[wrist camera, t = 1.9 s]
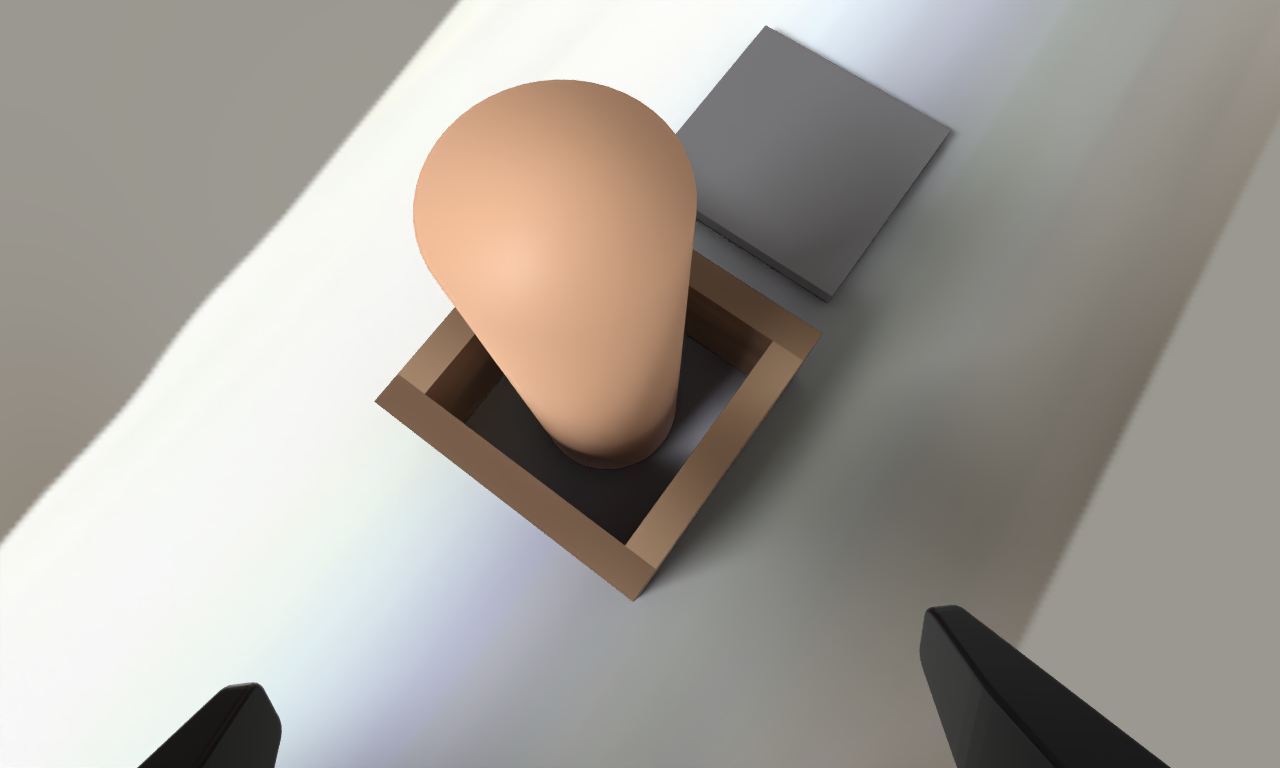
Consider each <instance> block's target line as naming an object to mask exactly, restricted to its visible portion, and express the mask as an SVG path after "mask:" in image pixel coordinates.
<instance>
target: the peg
mask: <svg viewBox="0 0 1280 768" xmlns="http://www.w3.org/2000/svg"><path fill="white" fill-rule="evenodd" d="M696 210H697V192H696V184H695V177H694V174H693V170H692V166H691V163H690V161H689V158H688V156H687V154H686V152H685V149H684V147H683V146H682V144H681V142H680V141H679V139H678V138H677V136H676V134H675V133H674V132H673V131H672V130H671V128H670V127H669V126H668V125H667V124H666V122H665V121H664V120H663V119H661V118H660V117H659V116H658V115H657V114H656V113H655V112H654V111H653V110H651V109H650V108H649V107H647V106H646V105H644V104H643V103H641V102H640V101H638V100H637V99H635V98H633V97H631V96H629V95H627V94H625V93H623V92H620V91H618V90H615V89H613V88H610V87H607V86H603V85H599V84H595V83H591V82H584V81H577V80H548V81H538V82H533V83H528V84H523V85H519V86H516V87H513V88H510V89H507V90H504V91H502V92H500V93H497V94H495V95H493V96H491V97H488V98H487V99H485V100H483V101H482V102H480V103H478V104H476V105H475V106H473V107H472V108H471V109H469V110H468V111H467V112H465V113H464V114H463V115H461V116H460V117H459V118H458V119H457V120H456V121H455V122H454V123H453V124H452V125H451V126H449V127H448V128H447V130H446V131H445V132H444V133H443V134H442V136H441V137H440V138H439V139H438V141H437V142H436V143H435V145H434V147H433V148H432V150H431V152H430V153H429V155H428V156H427V159H426V161H425V163H424V165H423V167H422V170H421V172H420V175H419V179H418V182H417V185H416V190H415V197H414V203H413V221H414V228H415V235H416V239H417V243H418V246H419V249H420V253H421V255H422V257H423V259H424V261H425V263H426V265H427V268H428V269H429V271H430V272H431V274H432V275H433V277H434V278H435V280H436V281H437V283H438V284H439V285H440V287H441V288H442V290H443V291H444V292H445V294H446V295H447V296H448V298H449V299H450V300H451V302H452V303H453V305H454V306H455V307H456V309H457V310H458V311H459V313H460V314H461V315H462V317H463V318H464V320H465V321H466V322H467V324H468V325H469V326H470V328H471V329H472V331H473V332H474V333H475V335H476V336H477V337H478V339H479V340H480V341H481V343H482V344H483V346H484V347H485V348H486V350H487V351H488V352H489V354H490V355H491V357H492V358H493V359H494V361H495V362H496V363H497V365H498V366H499V367H500V369H501V370H502V372H503V373H504V374H505V376H506V377H507V378H508V380H509V381H510V382H511V384H512V385H513V387H514V388H515V389H516V391H517V392H518V393H519V395H520V396H521V398H522V399H523V400H524V402H525V403H526V404H527V406H528V407H529V408H530V410H531V411H532V413H533V414H534V415H535V417H536V418H537V419H538V421H539V422H540V423H541V425H542V426H543V428H544V429H545V430H546V432H547V433H548V434H549V436H550V437H551V439H552V440H553V441H554V443H555V444H556V445H557V446H558V447H559V448H560V450H561V451H562V452H564V453H565V454H566V455H567V456H568V457H570V458H572V459H573V460H575V461H577V462H579V463H581V464H583V465H586V466H589V467H593V468H598V469H619V468H623V467H628V466H630V465H633V464H636V463H638V462H640V461H642V460H644V459H645V458H646V457H648V456H649V455H651V454H652V453H653V452H654V451H655V450H656V449H657V448H658V447H659V446H660V445H661V444H662V443H663V441H664V440H665V438H666V437H667V435H668V433H669V431H670V429H671V427H672V424H673V421H674V417H675V411H676V403H677V393H678V384H679V374H680V365H681V355H682V346H683V336H684V326H685V317H686V307H687V298H688V288H689V279H690V269H691V259H692V250H693V240H694V231H695V221H696Z"/></svg>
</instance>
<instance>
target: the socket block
mask: <svg viewBox="0 0 1280 768" xmlns="http://www.w3.org/2000/svg"><path fill="white" fill-rule="evenodd" d="M684 333H685V334H687V335H688V336H690V337H691V338H693V339H694V340H695V341H697V342H698V343H700V344H701V345H703V346H704V347H706V348H707V349H709V350H710V351H712V352H713V353H715V354H716V355H718V356H719V357H721V358H722V359H724V360H725V361H726V362H728V363H729V364H731V365H732V366H734V367H735V368H737V369H738V370H740V371H741V372H743V373H744V374H746V375H747V378H746V379H745V381H744V382H743V383H742V385H741V386H740V388H739V389H738V390H737V392H736V393H735V394H734V396H733V397H732V399H731V400H730V401H729V403H728V404H727V406H726V407H725V408H724V410H723V411H722V412H721V414H720V415H719V417H718V418H717V419H716V421H715V422H714V423H713V425H712V426H711V428H710V429H709V430H708V432H707V433H706V435H705V436H704V437H703V439H702V440H701V441H700V443H699V444H698V446H697V447H696V448H695V450H694V451H693V453H692V454H691V455H690V457H689V458H688V459H687V461H686V462H685V464H684V465H683V466H682V468H681V469H680V470H679V472H678V473H677V475H676V476H675V477H674V479H673V480H672V482H671V483H670V484H669V486H668V487H667V488H666V490H665V491H664V493H663V494H662V495H661V497H660V498H659V499H658V501H657V502H656V504H655V505H654V506H653V508H652V509H651V511H650V512H649V513H648V515H647V516H646V517H645V519H644V520H643V522H642V523H641V524H640V526H639V527H638V529H637V530H636V531H635V533H634V534H633V535H632V537H631V538H630V540H629V541H628V542H627V544H626V545H623V544H622V543H621V542H619V541H618V540H617V539H616V538H614V537H613V536H612V535H610V534H609V533H608V532H606V531H605V530H604V529H602V528H601V527H600V526H598V525H597V524H596V523H594V522H593V521H592V520H590V519H589V518H588V517H586V516H585V515H584V514H583V513H581V512H580V511H579V510H577V509H576V508H575V507H573V506H572V505H571V504H569V503H568V502H567V501H565V500H564V499H563V498H561V497H560V496H559V495H557V494H556V493H555V492H553V491H552V490H551V489H550V488H548V487H547V486H546V485H544V484H543V483H542V482H540V481H539V480H538V479H536V478H535V477H534V476H532V475H531V474H530V473H528V472H527V471H526V470H524V469H523V468H522V467H520V466H519V465H518V464H517V463H515V462H514V461H513V460H511V459H510V458H509V457H507V456H506V455H505V454H503V453H502V452H501V451H499V450H498V449H497V448H495V447H494V446H493V445H491V444H490V443H489V442H487V441H486V440H485V439H484V438H482V437H481V436H480V435H478V434H477V433H476V432H474V431H473V430H472V429H470V428H469V427H468V426H466V425H465V424H464V423H465V421H466V420H467V419H468V418H469V417H470V415H471V414H472V413H473V412H474V410H475V409H476V408H477V407H478V405H479V404H480V403H481V402H482V401H483V399H484V398H485V397H486V396H487V394H488V393H489V392H490V391H491V390H492V388H493V387H494V386H495V385H496V383H497V382H498V381H499V380H500V379H501V377H502V376H503V375H504V373H503V372H502V370H501V369H500V367H499V366H498V365H497V363H496V362H495V361H494V359H493V358H492V357H491V355H490V354H489V352H488V351H487V350H486V348H485V347H484V346H483V344H482V343H481V341H480V340H479V339H478V337H477V336H476V335H475V333H474V332H473V331H472V329H471V328H470V326H469V325H468V324H467V322H466V321H465V320H464V318H463V317H462V315H461V314H460V313H459V311H458V310H457V309H456V307H455V308H454V309H453V310H452V311H451V313H450V314H449V315H448V316H447V317H446V318H445V320H444V321H443V322H442V323H441V324H440V325H439V327H438V328H437V329H436V330H435V331H434V332H433V334H432V335H431V336H430V337H429V338H428V339H427V341H426V342H425V343H424V344H423V345H422V346H421V348H420V349H419V350H418V351H417V352H416V353H415V355H414V356H413V357H412V358H411V359H410V360H409V362H408V363H407V364H406V365H405V366H404V367H403V369H402V370H401V371H400V372H399V373H398V374H397V376H396V377H395V378H394V379H393V380H392V381H391V383H390V384H389V385H388V386H387V387H386V388H385V390H384V391H383V392H382V393H381V394H380V395H379V397H378V398H377V399H376V400H375V401H374V402H376V403H377V404H378V405H379V406H381V407H382V408H383V409H385V410H386V411H387V412H389V413H390V414H391V415H392V416H394V417H395V418H396V419H398V420H399V421H400V422H401V423H403V424H404V425H405V426H407V427H408V428H409V429H410V430H412V431H413V432H414V433H416V434H417V435H418V436H420V437H421V438H422V439H423V440H425V441H426V442H427V443H429V444H430V445H431V446H432V447H434V448H435V449H436V450H438V451H439V452H440V453H442V454H443V455H444V456H445V457H447V458H448V459H449V460H451V461H452V462H453V463H454V464H456V465H457V466H458V467H460V468H461V469H462V470H463V471H465V472H466V473H467V474H469V475H470V476H471V477H473V478H474V479H475V480H476V481H478V482H479V483H480V484H482V485H483V486H484V487H485V488H487V489H488V490H489V491H491V492H492V493H493V494H495V495H496V496H497V497H498V498H500V499H501V500H502V501H504V502H505V503H506V504H507V505H509V506H510V507H511V508H513V509H514V510H515V511H517V512H518V513H519V514H520V515H522V516H523V517H524V518H526V519H527V520H528V521H529V522H531V523H532V524H533V525H535V526H536V527H537V528H538V529H540V530H541V531H542V532H544V533H545V534H546V535H548V536H549V537H550V538H551V539H553V540H554V541H555V542H557V543H558V544H559V545H560V546H562V547H563V548H564V549H566V550H567V551H568V552H570V553H571V554H572V555H573V556H575V557H576V558H577V559H579V560H580V561H581V562H582V563H584V564H585V565H586V566H588V567H589V568H590V569H591V570H593V571H594V572H595V573H597V574H598V575H599V576H601V577H602V578H603V579H604V580H606V581H607V582H608V583H610V584H611V585H612V586H613V587H615V588H616V589H617V590H619V591H620V592H621V593H623V594H624V595H625V596H626V597H628V598H629V599H630V600H632V601H634V600H636V599H637V598H638V597H639V595H640V594H641V592H642V591H643V590H644V588H645V587H646V585H647V584H648V583H649V581H650V580H651V578H652V577H653V575H654V574H655V573H656V571H657V570H658V568H659V567H660V566H661V564H662V563H663V561H664V560H665V558H666V557H667V556H668V554H669V553H670V551H671V550H672V549H673V547H674V546H675V544H676V543H677V541H678V540H679V539H680V537H681V536H682V534H683V533H684V532H685V530H686V529H687V527H688V526H689V524H690V523H691V522H692V520H693V519H694V517H695V516H696V515H697V513H698V512H699V510H700V509H701V507H702V506H703V505H704V503H705V502H706V500H707V499H708V498H709V496H710V495H711V493H712V492H713V490H714V489H715V488H716V486H717V485H718V483H719V482H720V481H721V479H722V478H723V476H724V475H725V473H726V472H727V471H728V469H729V468H730V466H731V465H732V464H733V462H734V461H735V459H736V458H737V456H738V455H739V454H740V452H741V451H742V449H743V448H744V447H745V445H746V444H747V442H748V441H749V439H750V438H751V437H752V435H753V434H754V432H755V431H756V430H757V428H758V427H759V425H760V424H761V422H762V421H763V420H764V418H765V417H766V415H767V414H768V413H769V411H770V410H771V408H772V407H773V405H774V404H775V403H776V401H777V400H778V398H779V397H780V396H781V394H782V393H783V391H784V390H785V388H786V387H787V386H788V384H789V383H790V381H791V380H792V379H793V377H794V376H795V374H796V373H797V371H798V370H799V368H800V367H801V365H802V364H803V362H804V361H805V359H806V358H807V356H808V355H809V353H810V352H811V350H812V349H813V347H814V346H815V344H816V343H817V341H818V339H819V338H820V336H821V335H822V333H821V332H819V331H818V330H816V329H815V328H813V327H812V326H810V325H808V324H807V323H805V322H804V321H802V320H801V319H799V318H798V317H796V316H795V315H793V314H792V313H790V312H788V311H787V310H785V309H784V308H782V307H781V306H779V305H778V304H776V303H775V302H773V301H771V300H770V299H768V298H767V297H765V296H764V295H762V294H761V293H759V292H758V291H756V290H755V289H753V288H751V287H750V286H748V285H747V284H745V283H744V282H742V281H741V280H739V279H738V278H736V277H734V276H733V275H731V274H730V273H728V272H727V271H725V270H724V269H722V268H721V267H719V266H718V265H716V264H714V263H713V262H711V261H710V260H708V259H707V258H705V257H704V256H702V255H701V254H699V253H698V252H696V251H694V250H692V259H691V269H690V279H689V288H688V298H687V307H686V317H685V326H684Z"/></svg>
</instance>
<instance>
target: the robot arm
mask: <svg viewBox="0 0 1280 768" xmlns="http://www.w3.org/2000/svg"><path fill="white" fill-rule="evenodd" d="M920 660H921V664H922V667H923V671H924V673H925V676H926V679H927V682H928V685H929V688H930V691H931V694H932V697H933V700H934V702H935V705H936V708H937V711H938V714H939V717H940V720H941V723H942V726H943V729H944V731H945V734H946V737H947V740H948V743H949V746H950V749H951V752H952V755H953V758H954V760H955V763H956V766H957V768H1170V767H1169V766H1168V765H1166V764H1165V763H1164V762H1163V761H1161V760H1160V759H1159V758H1157V757H1156V756H1155V755H1153V754H1152V753H1151V752H1149V751H1148V750H1147V749H1146V748H1144V747H1143V746H1142V745H1140V744H1139V743H1138V742H1136V741H1135V740H1134V739H1133V738H1131V737H1130V736H1129V735H1127V734H1126V733H1125V732H1123V731H1122V730H1121V729H1119V728H1118V727H1117V726H1116V725H1114V724H1113V723H1112V722H1110V721H1109V720H1108V719H1106V718H1105V717H1104V716H1103V715H1101V714H1100V713H1099V712H1097V711H1096V710H1095V709H1094V708H1092V707H1091V706H1090V705H1088V704H1087V703H1086V702H1084V701H1083V700H1082V699H1080V698H1079V697H1078V696H1077V695H1075V694H1074V693H1073V692H1071V691H1070V690H1069V689H1067V688H1066V687H1065V686H1064V685H1062V684H1061V683H1060V682H1058V681H1057V680H1056V679H1054V678H1053V677H1052V676H1051V675H1049V674H1048V673H1046V672H1045V671H1044V670H1043V669H1041V668H1040V667H1039V666H1038V665H1036V664H1035V663H1034V662H1032V661H1031V660H1030V659H1028V658H1027V657H1026V656H1025V655H1023V654H1022V653H1021V652H1019V651H1018V650H1017V649H1015V648H1014V647H1013V646H1012V645H1010V644H1009V643H1008V642H1006V641H1005V640H1004V639H1002V638H1001V637H1000V636H998V635H997V634H996V633H995V632H993V631H992V630H991V629H989V628H988V627H987V626H985V625H984V624H983V623H982V622H980V621H979V620H978V619H976V618H975V617H974V616H972V615H971V614H970V613H969V612H967V611H966V610H965V609H963V608H962V607H959V606H957V605H947V606H938V607H931V608H929V609H927V611H926V612H925V616H924V622H923V629H922V636H921V642H920ZM281 732H282V729H281V722H280V719H279V716H278V714H277V713H276V711H275V709H274V707H273V705H272V703H271V701H270V699H269V698H268V696H267V694H266V692H265V690H264V688H263V687H262V686H261V685H260V684H258V683H254V682H252V683H243V684H234V685H229V686H227V687H225V688H223V689H222V690H220V691H219V692H218V693H217V694H216V695H215V696H214V697H213V698H211V699H210V700H209V701H208V702H207V703H206V704H205V705H204V706H203V707H202V708H201V709H200V710H199V711H198V712H196V713H195V714H194V715H193V716H192V717H191V718H190V719H189V720H188V721H187V722H186V723H185V724H184V725H183V726H182V727H180V728H179V729H178V730H177V731H176V732H175V733H174V734H173V735H172V736H171V737H170V738H169V739H168V740H167V741H165V742H164V743H163V744H162V745H161V746H160V747H159V748H158V749H157V750H156V751H155V752H154V753H153V754H152V755H150V756H149V757H148V758H147V759H146V760H145V761H144V762H143V763H142V764H141V765H140V766H139V767H138V768H274V767H275V762H276V758H277V754H278V749H279V745H280V740H281Z"/></svg>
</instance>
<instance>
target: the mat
mask: <svg viewBox="0 0 1280 768" xmlns="http://www.w3.org/2000/svg"><path fill="white" fill-rule="evenodd" d="M949 132H950V129H948V128H946V127H944V126H943V125H941V124H939V123H937V122H936V121H934V120H932V119H930V118H929V117H927V116H925V115H923V114H921V113H920V112H918V111H916V110H914V109H913V108H911V107H909V106H907V105H906V104H904V103H902V102H900V101H898V100H897V99H895V98H893V97H891V96H890V95H888V94H886V93H884V92H883V91H881V90H879V89H877V88H875V87H874V86H872V85H870V84H868V83H867V82H865V81H863V80H861V79H860V78H858V77H856V76H854V75H853V74H851V73H849V72H847V71H845V70H844V69H842V68H840V67H838V66H837V65H835V64H833V63H831V62H830V61H828V60H826V59H824V58H822V57H821V56H819V55H817V54H815V53H814V52H812V51H810V50H808V49H807V48H805V47H803V46H801V45H800V44H798V43H796V42H794V41H792V40H791V39H789V38H787V37H785V36H784V35H782V34H780V33H778V32H777V31H775V30H773V29H771V28H769V27H768V26H765V27H764V28H763V29H762V30H761V32H760V33H759V34H758V35H757V36H756V38H755V39H754V40H753V41H752V43H751V44H750V45H749V46H748V47H747V49H746V50H745V51H744V52H743V53H742V55H741V56H740V57H739V58H738V59H737V61H736V62H735V63H734V64H733V66H732V67H731V68H730V69H729V70H728V72H727V73H726V74H725V75H724V76H723V78H722V79H721V80H720V81H719V82H718V84H717V85H716V86H715V87H714V89H713V90H712V91H711V92H710V93H709V95H708V96H707V97H706V98H705V99H704V101H703V102H702V103H701V104H700V105H699V107H698V108H697V109H696V110H695V112H694V113H693V114H692V115H691V116H690V118H689V119H688V120H687V121H686V122H685V124H684V125H683V126H682V127H681V128H680V130H679V131H678V132H677V133H676V136H677V138H678V139H679V141H680V142H681V144H682V146H683V147H684V149H685V152H686V154H687V156H688V158H689V161H690V163H691V166H692V170H693V174H694V177H695V184H696V192H697V210H696V219H697V220H699V221H700V222H702V223H703V224H705V225H706V226H708V227H710V228H711V229H713V230H714V231H716V232H717V233H719V234H721V235H722V236H724V237H725V238H727V239H728V240H730V241H732V242H733V243H735V244H736V245H738V246H739V247H741V248H742V249H744V250H746V251H747V252H749V253H750V254H752V255H753V256H755V257H757V258H758V259H760V260H761V261H763V262H764V263H766V264H768V265H769V266H771V267H772V268H774V269H775V270H777V271H778V272H780V273H782V274H783V275H785V276H786V277H788V278H789V279H791V280H793V281H794V282H796V283H797V284H799V285H800V286H802V287H804V288H805V289H807V290H808V291H810V292H811V293H813V294H814V295H816V296H818V297H819V298H821V299H822V300H824V301H825V302H827V303H828V302H829V301H830V299H831V298H832V297H833V295H834V294H835V292H836V291H837V290H838V288H839V287H840V285H841V284H842V283H843V281H844V280H845V278H846V277H847V276H848V274H849V273H850V271H851V270H852V269H853V267H854V266H855V264H856V263H857V262H858V260H859V259H860V257H861V256H862V255H863V253H864V252H865V250H866V249H867V247H868V246H869V245H870V243H871V242H872V240H873V239H874V238H875V236H876V235H877V233H878V232H879V231H880V229H881V228H882V226H883V225H884V224H885V222H886V221H887V219H888V218H889V217H890V215H891V214H892V212H893V211H894V210H895V208H896V207H897V205H898V204H899V203H900V201H901V200H902V198H903V197H904V196H905V194H906V193H907V191H908V190H909V189H910V187H911V186H912V184H913V183H914V182H915V180H916V179H917V177H918V176H919V175H920V173H921V172H922V170H923V169H924V168H925V166H926V165H927V163H928V162H929V161H930V159H931V158H932V156H933V155H934V154H935V152H936V151H937V149H938V148H939V146H940V145H941V144H942V142H943V141H944V139H945V138H946V136H947V135H948V133H949Z"/></svg>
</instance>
